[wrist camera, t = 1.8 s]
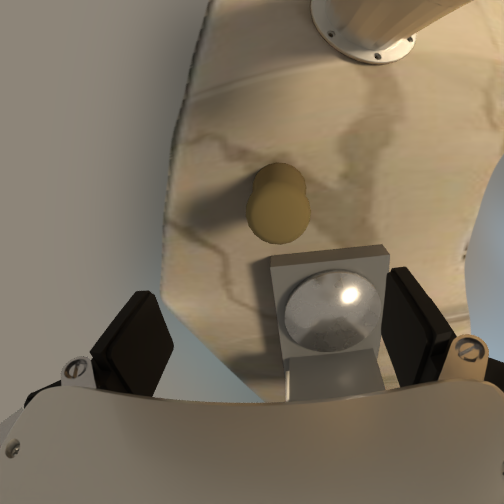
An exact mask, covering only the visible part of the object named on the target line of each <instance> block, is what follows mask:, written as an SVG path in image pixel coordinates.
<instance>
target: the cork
mask: <svg viewBox="0 0 504 504" xmlns="http://www.w3.org/2000/svg"><path fill="white" fill-rule="evenodd" d="M305 195H306V184H305V180H304V178H303V176H302V175H301V173H300V172H299V171H298V170H297V169H296V168H294V167H293V166H291V165H288V164H286V163H273V164H269V165H267V166H266V167H264V168H262V169H261V170H260V171H259V172H258V174H257V175H256V177H255V179H254V182H253V193H252V194H251V195H250V197H249V200H248V203H247V205H246V218H247V221H248V225H249V227H250V228H251V230H252V231H253V233H254V234H255V235H256V236H257V237H259V238H260V239H261V240H263V241H265V242H268V243H270V244H280V245H281V244H285V243H290V242H292V241H294V240H295V239H297V238H299V237H300V236H301V235H302V233H303V232H304V231H305V230H306V228H307V226H308V223H309V221H310V214H311V210H310V205H309V201H308V199H307V197H306V196H305Z"/></svg>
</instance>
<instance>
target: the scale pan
mask: <svg viewBox="0 0 504 504" xmlns="http://www.w3.org/2000/svg"><path fill="white" fill-rule="evenodd" d="M380 313H381V301H380V298H379V295H378V293H377V291H376V289H375V287H374V286H373V284H372V283H371V282H370V281H369V280H368V279H367V278H366V277H364V276H363V275H361V274H359V273H356V272H354V271H350V270H343V269H334V270H327V271H323V272H319V273H317V274H314V275H312V276H310V277H309V278H307V279H305V280H304V281H303V282H301V283H300V284H299V285H298V286H297V287H296V288H295V289H294V290H293V291H292V293H291V295H290V296H289V298H288V300H287V303H286V306H285V325H286V328H287V331H288V333H289V335H290V336H291V337H292V339H293V340H294V341H296V342H297V343H298V344H299V345H301V346H303V347H305V348H307V349H310V350H313V351H318V352H335V351H341V350H344V349H347V348H350V347H352V346H354V345H356V344H358V343H359V342H361V341H362V340H363V339H365V338H366V337H367V336H368V335H369V334H370V333H371V332H372V331H373V329H374V328H375V326H376V324H377V322H378V320H379V317H380Z"/></svg>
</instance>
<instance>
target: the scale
mask: <svg viewBox="0 0 504 504" xmlns="http://www.w3.org/2000/svg"><path fill="white" fill-rule="evenodd" d="M389 262H390V254H389V253H388V251H387V250H386V249H385V247H384V246H383V245H382V244H381V245H372V246H362V247H353V248H343V249H333V250H324V251H314V252H304V253H294V254H284V255H274V256H271V262H270V271H271V278H272V285H273V292H274V299H275V306H276V314H277V321H278V328H279V336H280V343H281V351H282V359H283V367H284V374H285V382H286V402H292V401H307V400H319V399H328V398H337V397H345V396H352V395H359V394H366V393H372V392H378V391H384V390H385V386H384V383H383V379H382V376H381V373H380V369H379V366H378V363H377V357H378V352H379V346H380V340H381V323H382V315H383V307H384V297H385V287H386V276H387V273H389ZM334 269H343V270H350V271H354V272H356V273H359V274H361V275H363V276H364V277H366V278H367V279H368V280H369V281H370V282H371V283H372V284H373V286H374V287H375V289H376V291H377V293H378V295H379V298H380V301H381V313H380V317H379V320H378V322H377V324H376V326H375V328H374V329H373V331H372V332H371V333H370V334H369V335H368V336H367V337H366V338H365V339H363V340H362V341H361V342H359V343H358V344H356V345H354V346H352V347H350V348H347V349H344V350H341V351H335V352H318V351H313V350H310V349H307V348H305V347H303V346H301V345H299V344H298V343H297V342H296V341H294V340H293V339H292V337H291V336H290V335H289V333H288V331H287V328H286V325H285V306H286V303H287V300H288V298H289V296H290V295H291V293H292V291H293V290H294V289H295V288H296V287H297V286H298V285H299V284H300V283H301V282H303V281H304V280H305V279H307V278H309V277H310V276H312V275H314V274H317V273H319V272H323V271H327V270H334Z"/></svg>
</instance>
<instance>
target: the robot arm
mask: <svg viewBox="0 0 504 504" xmlns="http://www.w3.org/2000/svg"><path fill="white" fill-rule="evenodd" d="M471 1H473V0H312V1H311V15H312V19H313V22H314V24H315V26H316V28H317V30H318V31H319V33H320V34H321V36H322V37H323V38H324V39H325V40H326V41H327V42H328V43H329V44H330V45H331V46H332V47H334V48H335V49H336V50H338V51H339V52H341V53H343V54H344V55H346V56H348V57H350V58H353V59H355V60H357V61H361V62H365V63H369V64H389V63H393V62H396V61H398V60H400V59H402V58H403V57H405V56H406V55H408V54H409V53H410V51H411V50H412V49H413V47H414V45H415V42H416V36H417V32H419V31H420V30H422V29H423V28H425V27H427V26H428V25H430V24H432V23H433V22H435V21H437V20H438V19H440V18H442V17H444V16H445V15H447V14H449V13H451V12H453V11H454V10H456V9H458V8H460V7H462V6H464V5H466V4H467V3H469V2H471ZM328 35H332V37H330V36H328ZM374 56H375V57H377V59H376V58H375V57H374ZM381 335H382V338H383V341H384V343H385V346H386V348H387V351H388V354H389V356H390V359H391V362H392V365H393V367H394V370H395V373H396V376H397V379H398V382H399V385H400V388H395V389H390V390H384V391H378V392H372V393H366V394H359V395H352V396H345V397H337V398H328V399H319V400H307V401H292V402H271V403H221V402H200V401H185V400H173V399H164V398H155V397H152V396H153V394H154V392H155V389H156V387H157V385H158V383H159V380H160V378H161V376H162V374H163V371H164V369H165V367H166V365H167V363H168V360H169V358H170V356H171V354H172V351H173V348H174V344H173V341H172V338H171V336H170V333H169V331H168V329H167V326H166V323H165V321H164V318H163V316H162V313H161V310H160V308H159V305H158V302H157V300H156V297H155V295H154V294H152V293H151V292H150V291H136V292H135V293H134V295H133V296H132V297H131V298H130V299H129V301H128V302H127V303H126V305H125V306H124V307H123V308H122V310H121V311H120V312H119V313H118V315H117V316H116V317H115V319H114V320H113V321H112V322H111V324H110V325H109V326H108V328H107V329H106V331H105V332H104V333H103V334H102V336H101V337H100V338H99V340H98V341H97V342H96V344H95V345H94V347H93V348H92V349H91V351H90V354H91V355H92V357H93V358H92V360H90V359H89V358H88V357H84V356H83V357H82V356H81V357H76V358H74V359H72V360H70V361H69V362H68V363H66V365H65V366H64V367H63V369H62V371H61V380H60V381H57V382H55V383H53V384H51V385H49V386H47V387H44V388H42V389H40V390H38V391H35V392H33V393H31V394H30V395H29V396H28V397H27V399H26V402H25V404H24V410H23V409H22V408H21V409H20V410H18V411H17V412H15V413H14V414H13V415H11V416H10V417H9V418H7V419H6V420H5V421H3V422H2V423H1V424H0V504H504V363H503V362H500V361H497V360H495V359H492V358H489V357H488V356H489V349H488V347H487V345H486V343H485V342H484V341H483V340H482V339H480V338H479V337H477V336H474V335H469V334H465V335H460V336H458V337H457V336H456V334H455V333H454V331H453V330H452V328H451V327H450V325H449V324H448V322H447V321H446V319H445V318H444V316H443V315H442V314H441V312H440V311H439V309H438V308H437V306H436V305H435V304H434V302H433V301H432V299H431V298H430V297H429V296H428V295H427V294H426V292H425V291H424V290H423V288H422V287H421V286H420V284H419V283H418V282H417V280H416V279H415V278H414V276H413V275H412V274H411V272H410V271H409V270H408V269H407V267H398V268H392V269H391V272H389V273H387V276H386V287H385V297H384V307H383V315H382V323H381Z"/></svg>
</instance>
